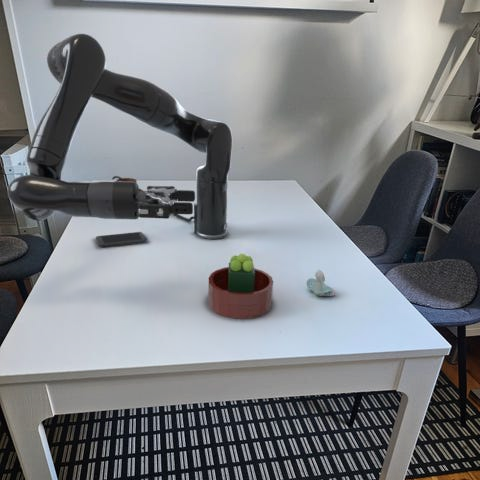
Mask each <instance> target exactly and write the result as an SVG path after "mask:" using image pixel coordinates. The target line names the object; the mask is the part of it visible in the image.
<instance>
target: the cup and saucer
mask: <svg viewBox="0 0 480 480" xmlns="http://www.w3.org/2000/svg"><path fill="white" fill-rule="evenodd" d="M116 181H125V182H136V183H137V184H138V181H137V179H136V178H131V177H121V179H118V178H117V180H116ZM139 190H140V191H144V189H141V188H139Z"/></svg>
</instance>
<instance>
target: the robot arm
mask: <svg viewBox="0 0 480 480" xmlns="http://www.w3.org/2000/svg"><path fill="white" fill-rule="evenodd" d="M46 62H47V67H48V70H49V72H50V73H51V76H53V78H54V79H55V80H56V81H57V82H58V83H59V84H60V86H59V88H58V90H57V92H56V94H55V96H54V98H53V99H52V101H51V103H50V104H49V106H48V107H47V109H46V111H45V112H44V114H43V115H42V117H41V118H40V120H39V122H38V123H37V124H38V125H37V126H36V128H35V131H34V134H33V136H32V140H31V142H30V145H29V149H28V151H27V155H26V163H27V166H28V169H29V174H25V175H21V176H18V177H15V178H14V179H13V180H12V181H11V182H10V183H9V184H8V187H7V197H8V199H9V201H10V202H11V204H12V205H13V206H14V207H15V208H17V210H19V211H20V212H21V213H22V214H24V215H25V216H26V217H27V218H29V219H31V220H34V221H39V222H40V221H44V220H47V219H48V218H50V217H51V216H52V215H53V213H54V212H60V213H62V214H65V215H66V216H69V217H73V218H97V219H103V220H138V219H139V218H143V219H166V220H167V219H170V217H172V216H175V217H177V218H179V219H181V220H183V221H186V222H191V221H193V234H194V235H197V236H198V237H199V238H203V239H207V240H217V239H222V238H225V237H226V236H227V228H228V222H227V219H228V218H227V216H228V215H227V213H228V179H229V177H228V176H229V172H230V169H231V166H232V155H233V154H232V152H233V133H232V129H231V128H230V126H229V124H227V123H226V122H223V121H219V120H215V119H208V118H205V117H201V116H199V115H196V114H194V113H192V112H190V111H188V110H187V109H185V108H183V106H182V105H181V104H180V103H179V101H178V100H177V99H176V98H175V96H173V95H172V94H171V93H170V92H168V91H166V90H165V89H163V88H161V87H160V86H158V85H157V84H155V83H153V82H151V81H149V80H146V79H142V78H140V77H135V76H132V75H126V74H121V73H117V72H114V71H112V70H109V69H107V68H106V67H107V59H106V55H105V52H104V49H103V47H102V45H101V44H100V43H99V41H98V40H97V39H96V38H94V37H93V36H92V35H89V34H88V33H87V34H86V33H76V34H73V35H70V36H68V37H66V38H64V39H62V40H61V41H59V42H58V43H55V44H54V45H53V46H52V47H51V48H50V50H49V51H48V53H47V57H46ZM91 98H92V99H95V100H98V101H101V102H102V103H105V104H106V105H109V106H111V107H112V108H114V109H116V110H118V111H120V112H122V113H124V114H126V115H129V117H132V118H134V119H136V120H138V121H139V122H141V123H143V124H144V125H147V126H149V127H151V128H153V129H156V130H158V131H161V132H163V133H166V134H169V135H172V136H175V137H176V138H178V139H179V140H181V141H182V142H184V143H186V144H187V145H188V146H190V147H191V148H193V149H194V150H196V151H197V152H200V153H202V154H206V156H205V164H204V165H201V166H199V167H198V168H197V169H196V173H195V175H196V191H195V190H189V189H188V190H186V189H185V190H184V189H177V188H176V186H174V185H148V186H146V190H143V191H140V190H139V189H140V186H139V184H138V182H137V183H136V182H125V181H117V180H118V179H121V178H122V177H121V176H119V175H114V176H112V178H111V180H98V181H67V180H63V179H62V172H63V169H64V166H65V163H66V161H67V158H68V154H69V152H70V149H71V145H72V142H73V139H74V136H75V135H76V131H77V129H78V126H79V124H80V122H81V119H82V117H83V115H84V112H85V110H86V108H87V106H88V105H89V102H90V100H91ZM115 179H117V180H115ZM195 201H196V202H195ZM192 202H193V203H192ZM192 214H193V215H192ZM182 215H192V216H190V217H189V218H187V217H185V216H182Z"/></svg>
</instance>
